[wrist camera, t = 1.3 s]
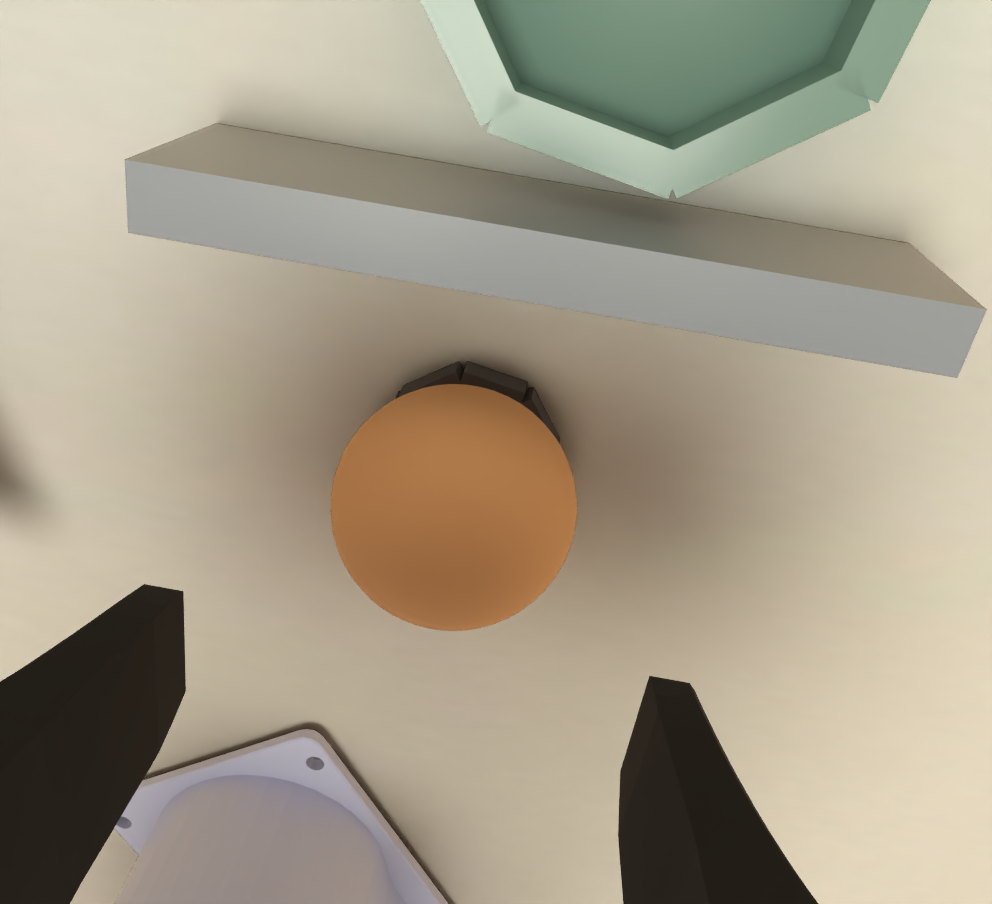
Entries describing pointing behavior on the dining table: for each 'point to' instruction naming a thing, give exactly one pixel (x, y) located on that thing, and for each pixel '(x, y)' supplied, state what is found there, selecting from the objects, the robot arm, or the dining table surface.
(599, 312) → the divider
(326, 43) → the dining table surface
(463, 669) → the dining table surface
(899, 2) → the dish
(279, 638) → the dining table surface
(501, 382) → the ring
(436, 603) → the ball
